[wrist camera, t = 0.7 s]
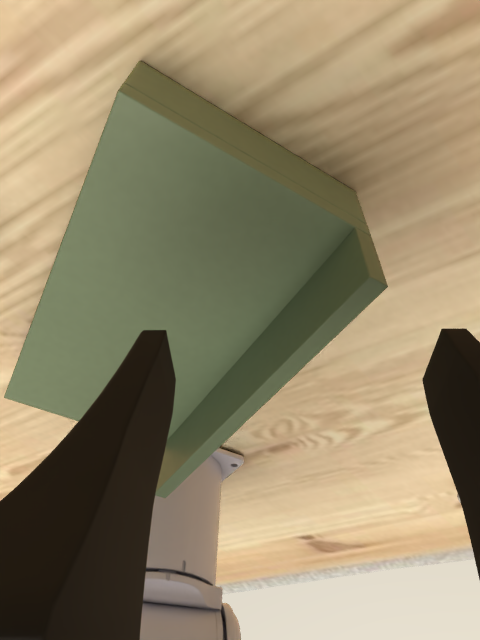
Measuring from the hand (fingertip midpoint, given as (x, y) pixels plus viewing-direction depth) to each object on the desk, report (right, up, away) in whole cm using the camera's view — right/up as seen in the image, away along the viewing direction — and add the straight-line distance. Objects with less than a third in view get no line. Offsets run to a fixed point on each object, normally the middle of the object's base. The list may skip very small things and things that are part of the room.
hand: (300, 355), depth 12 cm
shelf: (-5, +3, +11) cm, 13 cm away
